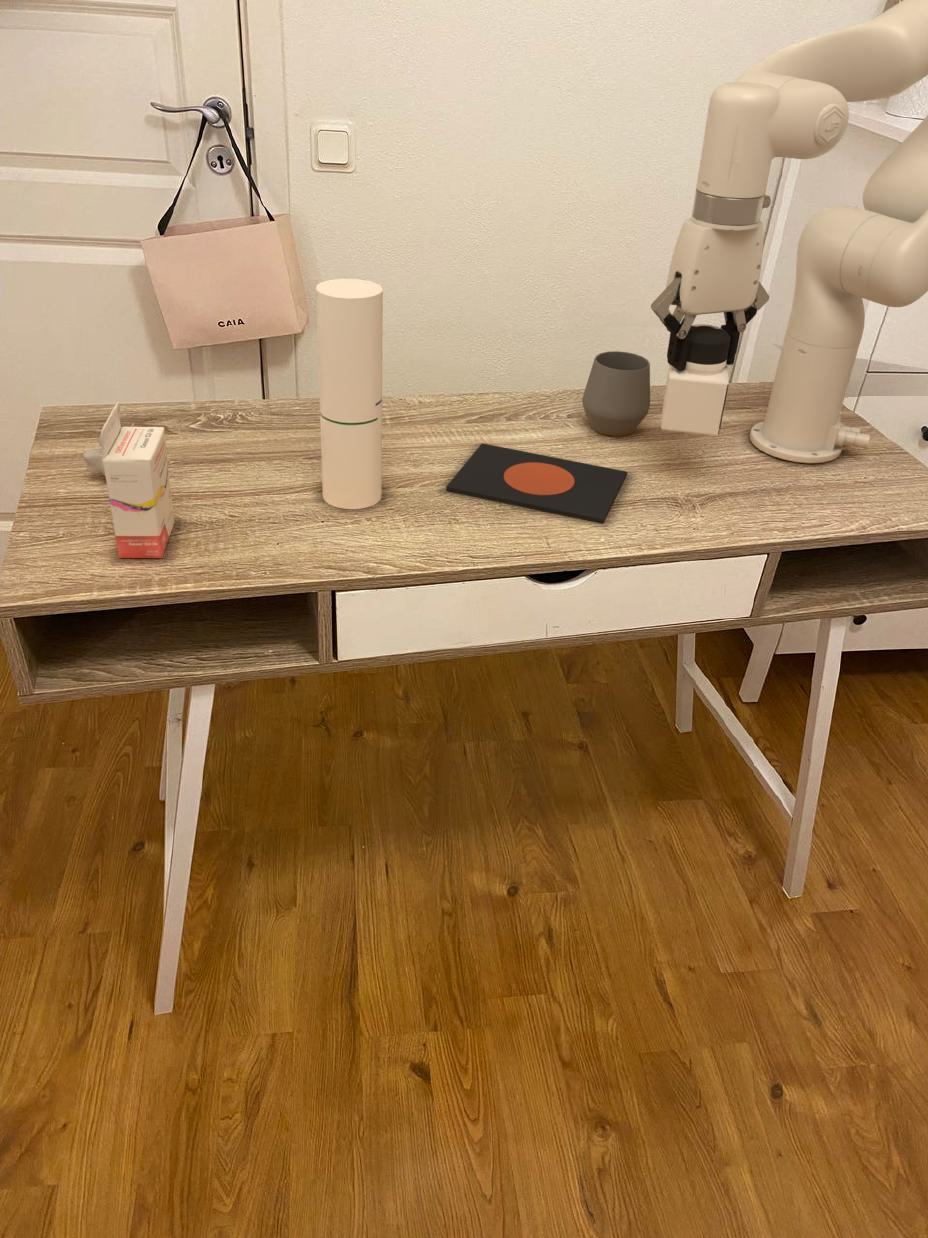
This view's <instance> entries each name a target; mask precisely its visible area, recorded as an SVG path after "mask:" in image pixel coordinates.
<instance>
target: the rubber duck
mask: <svg viewBox="0 0 928 1238" xmlns="http://www.w3.org/2000/svg"><path fill="white" fill-rule="evenodd" d="M113 426H114V422H113V423H111V428H110V430H109V434H110V432H111V430H112V429H113ZM98 439H99V440H98V444H99V446H100V447H102V437H101V433H100V435H99V438H98ZM82 458H83V460H84V461H85V462H86V470H87V472H89V473H92V474H96V473H101V474H102V475H103V476H104V477H105V471H104V465H103V453H102V448H101V449H100V450H98V449H89V450H86V451H85V452H84V453H83V454H82Z"/></svg>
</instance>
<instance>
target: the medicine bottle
mask: <svg viewBox="0 0 928 1238" xmlns="http://www.w3.org/2000/svg"><path fill="white" fill-rule="evenodd" d="M686 337H687V338H689V339H690V345H689V351H688V357H687V363H686V368H685V369H684V371H678V370H677V369H676V368H674V367H673V366H671V365H670V364H669V363H668V365H669V366H668V372H667V377H666V382H665V390H664V397H663V404H662V409H661V411H662V412H661V422H660V430H661V431H665V432H674V433H682V434H683V433H684V434H691V435H692V434H694V435H701V436H710V437H718V436H719V435H720V432H721V426H722V422H723V417H724V410H725V407H726V400H727V395H728V392H729V391H728V390H729V385H730V379H729V377H730V375H729V365H727V364H726V361H727V355H728V350H729V345H730V340H731V337H730V335H729V334H728V332H726V331H725V330H723V329H721V327H719V326H717V325H712V324H707V323H706V324H705V323H697V324H696V323H695V324H692V326H691V328H690V330H689V332H688V334H687V335H686Z"/></svg>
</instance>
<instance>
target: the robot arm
mask: <svg viewBox="0 0 928 1238" xmlns="http://www.w3.org/2000/svg"><path fill="white" fill-rule="evenodd" d="M927 76H928V0H901V1H899V2H898V3H897V4H894V5H893V6H892V7H890V8H888V9H887V10H885V11H883V12H882V13H880V14H879V15H877V16H876V17H874V18H871V19H870V20H867V21H865V22H860V23H857V24H853V25H848V26H846V27H842V28H840V29H836V30H833V31H830V32H827V33H824V34H819V35H816V36H813V37H810V38H806V39H803V40H799V41H797V42H795V43H792V44H789V45H787V46H785V47H783V48H781V49H778V50H777V51H774V53H772V54H770V55H769V56H767V57H765V58H763V59H762V60H760V61H758V62H757V63H756V64H754V65H752V66H751V67H750V68H748V69H747V70H745V71H744V72H743V73H742V74H741V75H740V76H739V77H738V78H737V79H736V80H735V81H733V82H724V83H722V84H719V85H717V86H716V88H714V90H713V91H712V93H711V95H710V99H709V103H708V108H707V114H706V115H707V116H706V122H705V128H704V133H703V134H704V135H703V141H702V148H701V155H700V162H699V168H698V172H697V179H696V186H695V193H694V199H693V205H692V211H691V217H689V218H685V219H684V220H683V222H682V226H681V228H680V230H679V234H678V236H677V239H676V242H675V245H674V248H673V253H672V257H671V261H670V265H669V269H668V275H667V279H666V285H665V289H664V290H663V291H662V292H661V293H660V294H659V295H658V296H657V297H656V298H655V299H654V301H653V302H652V303H651V305H650V309H651V311H652V312H653V313H654V314H655V316H656V317H658V319H659V320H660V322H661V323H662V324H663V326H664V327H665V328H666V330H667V331H668V332H669V340H668V346H667V352H666V358H667V363H668V365H669V364H670V365H671V366H673V367H674V368H676V369H677V370H678V371H684V369H685V368H686V363H687V357H688V351H689V345H690V339H689V338H687V337H686V335H687V334H688V332H689V330H690V328H691V326H692V325H694V324H693V323H694V322H695V319H696V318H697V316H700V315H710V314H721V313H723V316H724V324H721V325H720V328H721V329H723V330H725V331H726V332H728V334H729V335H730V337H731V340H730V345H729V350H728V355H727V361H726V364H727V365H728V366H732V365H734V364H735V359H736V354H737V352H738V347H739V342H740V337H741V333H743V332H745V331H746V330H747V325H748V324H749V323H750V321H751V320H753V319H754V318H755V316H756V315H757V313H758V311H760V310H761V309H762V308H763V306H765V304H766V303H768V301H769V300H770V294H769V293H768V292H767V291H766V290H767V289H765V287H764V286H763V285H762V283H761V282H760V277H761V272H762V264H763V263H762V262H763V255H764V253H763V252H764V223H763V222H762V220H761V217H762V213H763V210H764V209H768V208H769V207H770V206H771V203H772V200H771V199H772V198H771V197H770V195H769V194H768V195H767V194H766V191H767V186H768V181H769V177H770V171H771V165H772V161H773V159H775V158H785V159H796V160H811V159H815V158H818V157H821V156H824V155H825V154H827V153H829V152H830V151H831V150H832V149H834V148H835V147H836V146H837V145H838V144H839V142H840V141H841V140H842V139H843V136H844V135H845V133H846V130H847V127H848V124H849V119H850V110H849V105H848V103H856V102H857V103H859V102H860V103H861V102H867V101H875V100H883V99H887V98H891V97H895V96H896V95H897V96H898V95H900V94H901V93H903V92H904V91H906V90H908V89H909V88H910V87H912V86H913V85H915V84H916V83H918V82H920V81H921V80H923V79H924V78H926V77H927ZM862 205H863V208H862V207H857V206H851V205H832V206H828V207H825V208H823V209H820V210H819V211H818V212H816V213H814V215H812V217H811V218H810V219H808V221H807V222H806V223H805V225H804V227H803V229H802V231H801V233H800V236H799V239H798V242H797V243H798V244H797V250H796V264H795V265H796V266H795V267H796V268H795V282H794V293H793V297H792V298H793V299H792V303H791V308H790V313H789V318H788V323H787V326H786V330H785V334H784V338H783V342H782V346H781V351H780V355H779V359H778V363H777V367H776V370H775V371H776V372H775V375H774V379H773V383H772V384H773V385H772V389H771V392H770V397H769V401H768V406H767V409H766V413H765V418H764V420H763V421H760V422H757V423H755V424H754V425H753V426H752V427H751V429H750V432H749V440H750V442H751V444H752V445H753V446H754V447H755V448H757V449H758V450H759V451H761V452H763V453H765V454H767V455H769V456H772V457H774V458H778V459H780V460H783V461H788V462H793V463H801V464H821V463H827V462H831V461H834V460H835V459H837V458H839V457H840V456H841V453H842V450H843V446H844V445H848V446H849V445H850V446H852V447H855V448H861V449H868V446H869V443H870V439H871V434H868V433H863V432H861V430H862V428H861V427H855V426H848V425H845V424H844V423H842V422H841V418H842V414H841V411H842V407H843V405H844V402H845V401H844V400H845V398H846V394H847V390H848V387H849V382H850V379H851V375H852V372H853V369H854V366H855V361H856V358H857V355H858V351H859V348H860V344H861V342H862V338H863V334H864V329H865V321H866V320H865V316H866V314H865V313H866V312H865V306H864V300H867V301H869V302H873V303H876V304H879V305H881V306H886V307H891V308H904V307H906V306H910V305H911V304H913V303H915V302H917V301H918V300H919V299H921V298H922V297H923V296H924V295H925V294H927V292H928V114H927V115H926V116H925V117H924V119H922V121H921V122H920V123H919V124H918V126H917V127H916V128H915V129H914V130H913V131H912V132H910V134H909V135H907V137H906V138H905V139H904V140H903V141H902V142H900V144H899V145H898V146H897V147H896V148H895V149H894V150H893V151H892V152H891V153H890V154H889V155H888V156H887V157H886V158H885V159H884V160H883V162H881V164H880V165H879V166H878V167H877V168H876V170H875V171H874V172H873V173H872V174H871V175H870V177H869V179H868V180H867V182H866V184H865V186H864V189H863V192H862ZM863 299H864V300H863ZM670 306H675V309H674V310H673V312H671V311H670Z"/></svg>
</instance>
